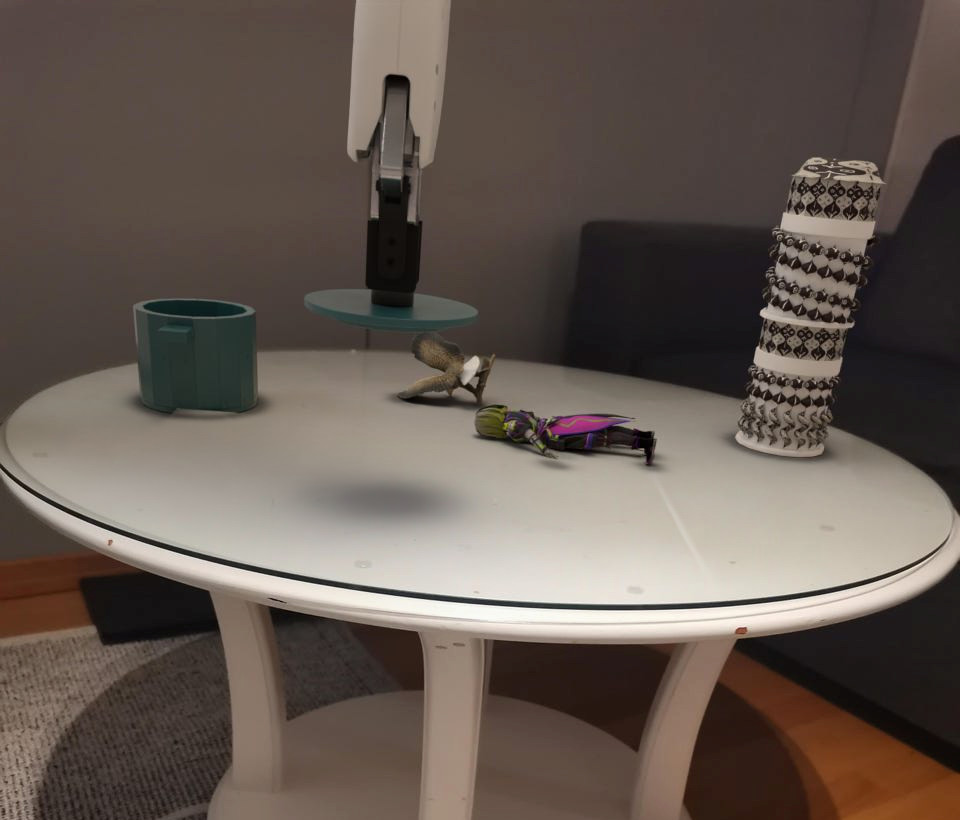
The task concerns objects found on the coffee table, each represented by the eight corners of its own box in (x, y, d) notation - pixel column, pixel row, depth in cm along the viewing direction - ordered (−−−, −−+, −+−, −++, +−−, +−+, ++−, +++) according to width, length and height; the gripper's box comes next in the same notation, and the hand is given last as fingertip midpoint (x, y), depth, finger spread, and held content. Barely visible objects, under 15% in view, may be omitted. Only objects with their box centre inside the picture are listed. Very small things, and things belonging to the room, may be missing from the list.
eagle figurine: (489, 382, 104) (409, 358, 104) (501, 332, 98) (415, 306, 98) (473, 434, 101) (389, 409, 100) (484, 386, 94) (395, 359, 94)
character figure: (646, 449, 91) (477, 425, 91) (654, 409, 89) (481, 385, 90) (653, 479, 83) (467, 452, 83) (662, 436, 81) (472, 409, 81)
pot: (116, 417, 85) (107, 317, 81) (167, 378, 99) (161, 291, 96) (238, 427, 86) (234, 327, 82) (271, 386, 100) (269, 299, 96)
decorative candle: (751, 426, 101) (806, 157, 89) (840, 446, 96) (910, 165, 85) (716, 442, 94) (770, 153, 83) (809, 464, 89) (881, 161, 78)
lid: (290, 327, 59) (291, 207, 56) (317, 299, 69) (318, 197, 66) (477, 345, 60) (487, 227, 57) (476, 315, 70) (485, 214, 67)
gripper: (358, -39, 62) (349, 266, 71) (323, -92, 48) (317, 299, 56) (475, -26, 63) (452, 276, 71) (476, -75, 48) (447, 312, 56)
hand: (392, 283), depth 63 cm, fingers closed on lid, 2 cm apart
